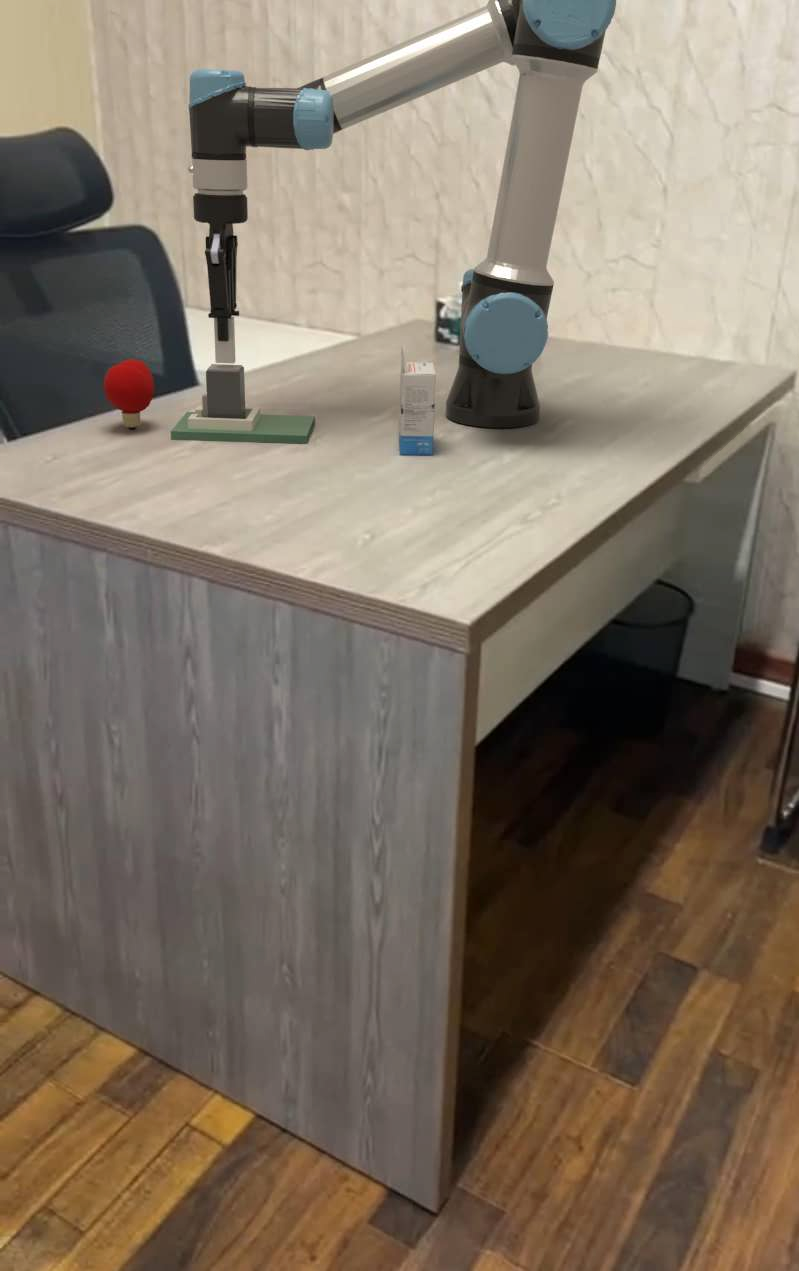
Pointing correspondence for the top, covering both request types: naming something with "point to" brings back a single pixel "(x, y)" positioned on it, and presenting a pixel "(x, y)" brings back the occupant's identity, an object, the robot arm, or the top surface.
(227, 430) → the board
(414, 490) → the top surface
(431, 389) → the ink box
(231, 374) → the plug
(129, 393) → the light bulb
